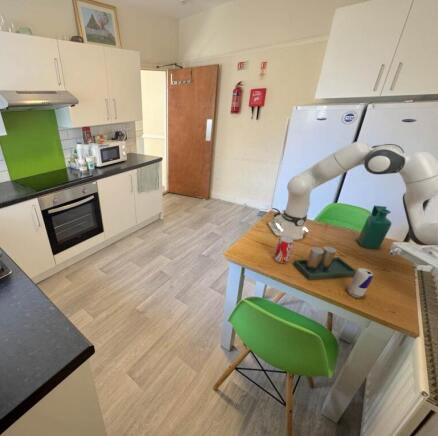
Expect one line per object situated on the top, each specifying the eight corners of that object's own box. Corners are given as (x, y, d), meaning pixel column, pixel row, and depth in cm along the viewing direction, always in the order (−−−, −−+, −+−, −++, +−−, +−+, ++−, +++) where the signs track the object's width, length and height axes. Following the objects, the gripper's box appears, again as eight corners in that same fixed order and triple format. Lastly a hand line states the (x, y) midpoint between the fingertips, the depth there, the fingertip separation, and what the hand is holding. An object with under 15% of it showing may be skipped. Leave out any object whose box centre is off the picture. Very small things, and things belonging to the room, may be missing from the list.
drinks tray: (293, 264, 122) (294, 260, 121) (337, 260, 123) (338, 257, 122) (308, 279, 112) (310, 275, 110) (356, 275, 113) (358, 271, 112)
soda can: (270, 255, 129) (276, 235, 123) (284, 255, 128) (290, 235, 122) (276, 264, 122) (282, 242, 116) (291, 263, 122) (297, 242, 116)
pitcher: (380, 250, 130) (398, 214, 120) (361, 247, 133) (377, 212, 123) (373, 240, 138) (389, 206, 128) (355, 238, 141) (370, 204, 131)
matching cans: (302, 267, 119) (308, 247, 113) (323, 265, 119) (330, 245, 114) (308, 273, 114) (316, 253, 109) (330, 272, 115) (339, 251, 109)
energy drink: (365, 298, 101) (377, 277, 95) (351, 297, 102) (362, 275, 96) (358, 289, 105) (369, 268, 100) (344, 288, 106) (354, 267, 101)
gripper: (411, 237, 105) (381, 239, 104) (471, 266, 86) (435, 269, 86) (404, 249, 107) (375, 251, 107) (461, 280, 89) (427, 283, 89)
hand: (403, 259), depth 96 cm, fingers open, 8 cm apart
